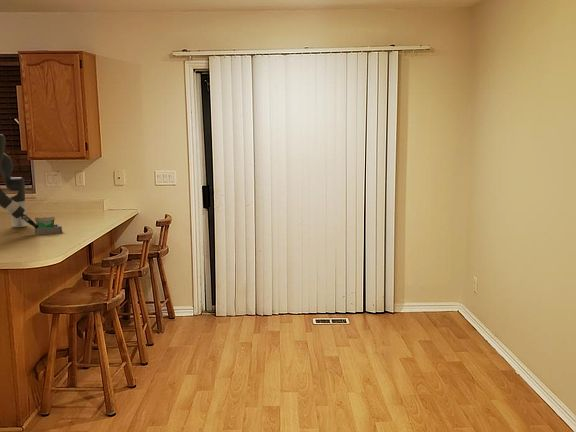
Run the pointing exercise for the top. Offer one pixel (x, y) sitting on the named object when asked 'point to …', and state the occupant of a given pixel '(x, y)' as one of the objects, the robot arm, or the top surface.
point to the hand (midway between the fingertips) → (37, 227)
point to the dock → (49, 230)
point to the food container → (45, 222)
